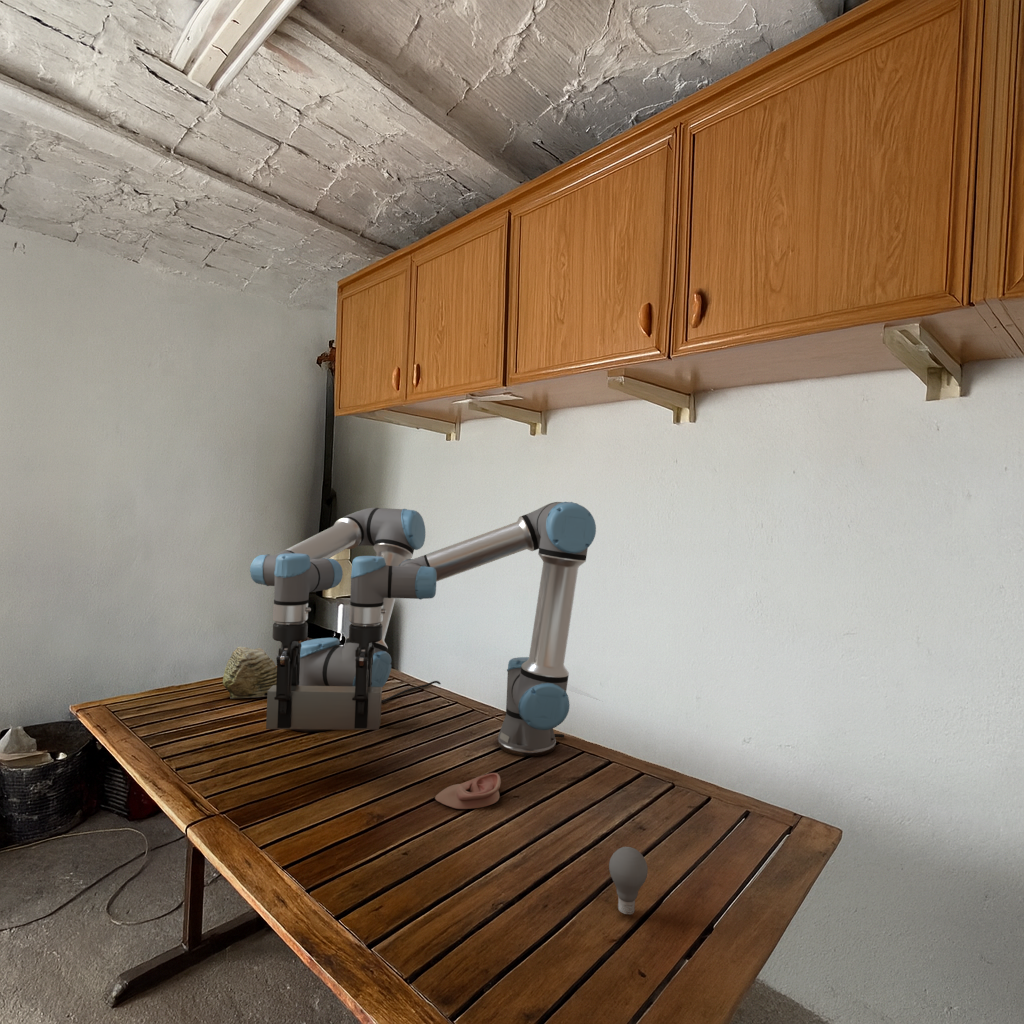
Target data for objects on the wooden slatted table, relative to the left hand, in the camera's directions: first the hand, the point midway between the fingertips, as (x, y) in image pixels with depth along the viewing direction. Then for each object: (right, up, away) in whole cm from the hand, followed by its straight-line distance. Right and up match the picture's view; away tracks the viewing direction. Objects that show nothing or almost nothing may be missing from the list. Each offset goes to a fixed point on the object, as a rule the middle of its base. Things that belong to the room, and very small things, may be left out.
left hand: (286, 723), depth 145 cm
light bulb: (+70, -15, -45) cm, 84 cm away
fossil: (-29, -9, +53) cm, 62 cm away
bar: (+8, -1, +1) cm, 9 cm away
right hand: (+17, -1, +2) cm, 17 cm away
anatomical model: (+42, -13, -9) cm, 45 cm away
